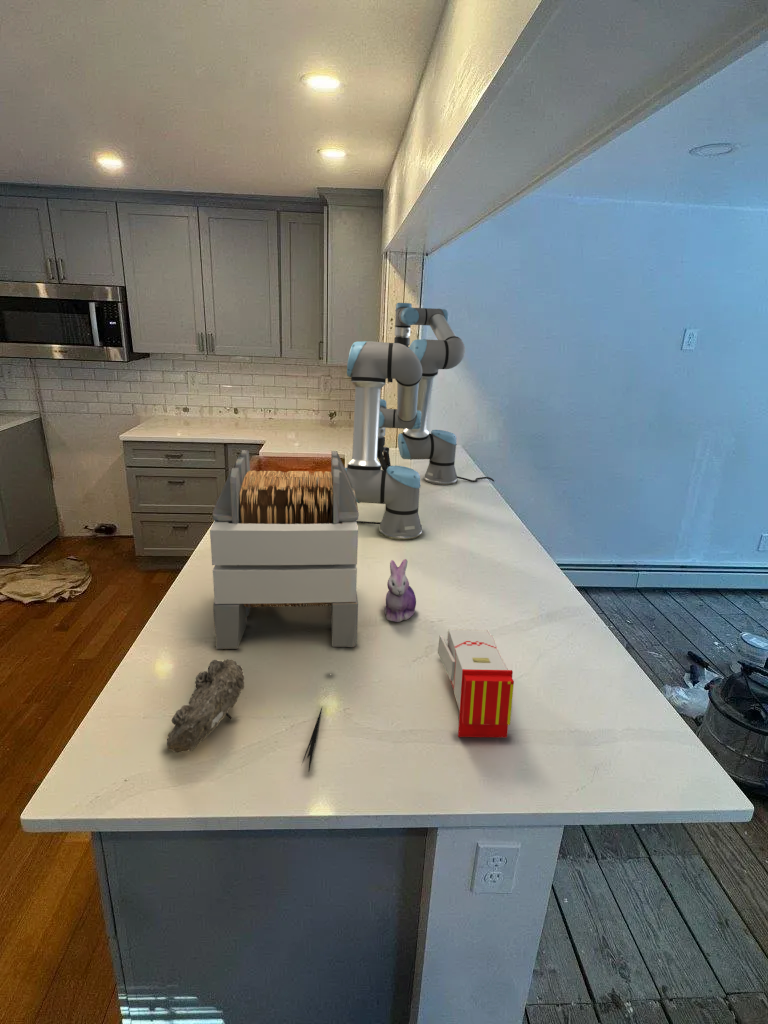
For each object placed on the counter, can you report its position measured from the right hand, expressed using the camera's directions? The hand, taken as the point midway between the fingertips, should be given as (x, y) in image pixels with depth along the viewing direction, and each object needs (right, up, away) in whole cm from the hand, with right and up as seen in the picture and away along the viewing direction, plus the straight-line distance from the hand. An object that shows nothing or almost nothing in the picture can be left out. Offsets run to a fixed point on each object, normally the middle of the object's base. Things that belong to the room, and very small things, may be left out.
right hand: (399, 381), depth 281 cm
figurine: (-4, -91, -134) cm, 162 cm away
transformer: (-32, -91, -135) cm, 166 cm away
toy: (+10, -102, -163) cm, 192 cm away
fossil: (-41, -104, -173) cm, 206 cm away
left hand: (-12, -54, -35) cm, 65 cm away
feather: (-20, -105, -172) cm, 203 cm away
